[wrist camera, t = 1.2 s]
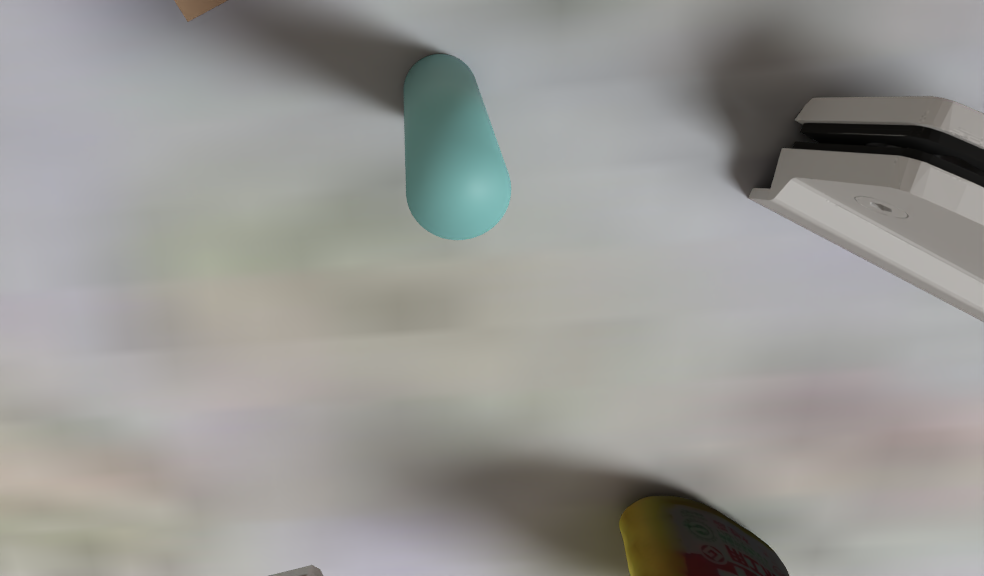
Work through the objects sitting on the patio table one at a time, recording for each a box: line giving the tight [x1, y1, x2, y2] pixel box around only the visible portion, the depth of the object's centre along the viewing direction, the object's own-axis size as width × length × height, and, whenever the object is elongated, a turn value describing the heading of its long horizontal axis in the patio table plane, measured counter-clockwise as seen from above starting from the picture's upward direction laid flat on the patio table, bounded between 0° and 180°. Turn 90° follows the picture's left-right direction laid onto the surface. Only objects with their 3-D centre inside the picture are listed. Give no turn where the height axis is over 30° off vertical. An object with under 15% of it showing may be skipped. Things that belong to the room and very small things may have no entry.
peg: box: [403, 54, 511, 240], centre depth 30 cm, size 3×3×12 cm
